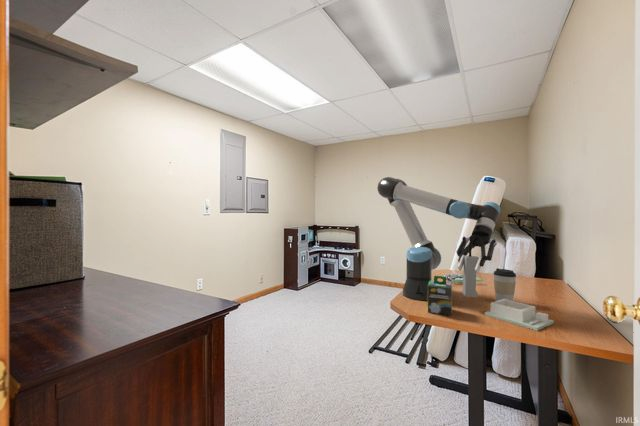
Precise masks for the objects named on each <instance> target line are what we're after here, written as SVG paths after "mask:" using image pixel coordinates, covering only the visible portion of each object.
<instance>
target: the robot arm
mask: <svg viewBox="0 0 640 426" xmlns="http://www.w3.org/2000/svg"><path fill="white" fill-rule="evenodd" d="M376 189H377V192H378V194H379V195H380V196H381V197H382V198H383V199H386V200H387V201H388V203H389V205H390V206H392V207H393V208H394V210H395V212H396V214H397V216H398V217H399V220H400V222H401V224H402V226H403V229H404V231H405V233H406V235H407V237H408V239H409V240H408V241H409V242H410V244H411V247H410V248H408V249H407V250H406V257H405V258H406V279H405V282H404V285H403V288H402V295H403V296H404V297H405V298H408V299H412V300H418V301H428V284H429V281H432V271H433V270H436V269H437V268H438V267H439V266H440V264H441V262H442V254H441V253H440V251H439V250H438V249H437V248H436V247H435V246H434V244H433V241H431V240H429V239H428V237H427V236H426V233H425V231H424V230H423V227H422V225H421V223H420V221H419V219H418V217H417V215H416V212H415V210H414V209H413V206H412V204H414V205H416V206H420V207H423V208H426V209H430V210H433V211H434V212H435V211H436V212H439V213H442V214H445V215H448V216H450V217H453V218H455V219H470V220H473V221H476V222H475V225H474V228H473V230H472V232H471V234H470V236H469V237H466V236H463V237H462V241H461V242H460V245H459V246H458V248H457V250H456V254H457V257H458V259H457V262H458V264H457V269H458V270H459V271H462V269H463V268H464V256H468V255H469V248H470V237H471V238H472V239H471V251H472V250H473V249H474V248H475V247H480V252H481V253H480V254H481V255H480V256H478V257H479V259H478V262H477V264H476V267H475V272H476V275H477V274H479V273H480V270H481V268H482V267H484V266H485V263H486V262H487V261H489V262H490V261H492V260H493V255H494V250H495V247H496V246H497V245H498V244H497V240H496V239H491V238H492V235H493V232H494V229H495V227H496V223H497V221H498V220H499V217H500V213H501V207H500V205H499V204H498V203H496V202H493V201H490V202H485V203H484V204H483V205H482V204H475V203H471V202H466V201H461V200H457V199H453V198H451V197H448V196H444V195H439V194H437V193H433V192H430V191H426V190H422V189H419V188H415V187H412V186H408V184H407V183H406V182H405V181H403V180H402V179H399V178H395V177H392V176H387V177H386V176H385V177H383V178H381V180H379V181H378V183H377V188H376ZM488 244H489V247H488V250H487V253H486V245H488Z"/></svg>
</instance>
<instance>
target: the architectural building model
mask: <svg viewBox="0 0 640 426" xmlns="http://www.w3.org/2000/svg"><path fill="white" fill-rule="evenodd" d="M484 316H487V317H490V318H494V319H497V320H500V321H503V322H507V323H511V324H513V325H515V326H516V325H517V326H520V327H522V328H527V329H529V328H530V330H532V329H533V331H536V332H538V331H540V330H542V329H544V327H545V328H547V327H549V326H552V325H553V324H554V323H555V320H553V319H549V314H548V313H544V312H541V311H539V312H536V305H535V306H534V305H531V304H527V303H523V302H520V301H519V302H518V301H514V300H513V301H510V300H506V299H502V300H498V301H496V300H495V301H492V302H490V310H488V311H485V312H484ZM546 326H547V327H546Z"/></svg>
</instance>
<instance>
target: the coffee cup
mask: <svg viewBox="0 0 640 426" xmlns="http://www.w3.org/2000/svg"><path fill="white" fill-rule="evenodd" d="M492 274H493V277H494V278H493V285H494V295H495V301H498V300H502V299H506V300H510V301H514V297H515V296H514V295H515V291H516V290H515V289H516V284H517V281H516V279H517V274H516V273H515V272H514V271H513V270H511V269H504V268H496V269H495V271H493V273H492Z"/></svg>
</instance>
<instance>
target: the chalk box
mask: <svg viewBox="0 0 640 426" xmlns="http://www.w3.org/2000/svg"><path fill="white" fill-rule="evenodd" d="M438 279H441V280H442V281H440V280H439V281H438ZM452 286H453V285H452V282H451V281H447V277H446V276H445V275H444V276H443V275H442V276H441V275H434V276H433V280H431V281H429V284H428V300H427V313H432V314H437V315H445V316H453V315H452V314H453V308H452V307H453V305H452V304H453V299H452V298H453V290H452V289H453V287H452Z"/></svg>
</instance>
